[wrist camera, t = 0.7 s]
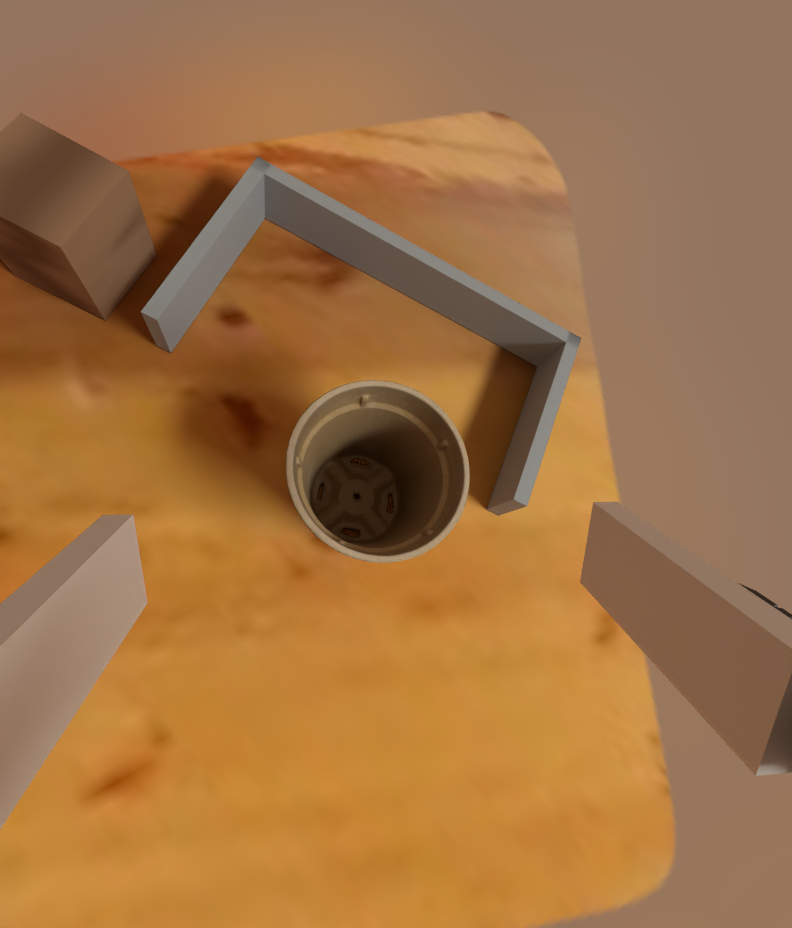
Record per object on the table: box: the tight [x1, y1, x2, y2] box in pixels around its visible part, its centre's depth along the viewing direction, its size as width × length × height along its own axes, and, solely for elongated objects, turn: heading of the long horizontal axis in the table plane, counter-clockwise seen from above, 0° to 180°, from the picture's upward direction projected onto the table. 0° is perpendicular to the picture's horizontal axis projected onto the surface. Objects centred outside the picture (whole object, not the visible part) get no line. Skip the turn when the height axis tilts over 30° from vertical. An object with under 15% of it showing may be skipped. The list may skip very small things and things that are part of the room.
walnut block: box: [0, 113, 157, 321], centre depth 28 cm, size 6×6×7 cm
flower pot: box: [286, 380, 470, 563], centre depth 27 cm, size 9×9×9 cm
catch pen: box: [141, 157, 581, 515], centre depth 33 cm, size 26×14×4 cm, turn 67°
